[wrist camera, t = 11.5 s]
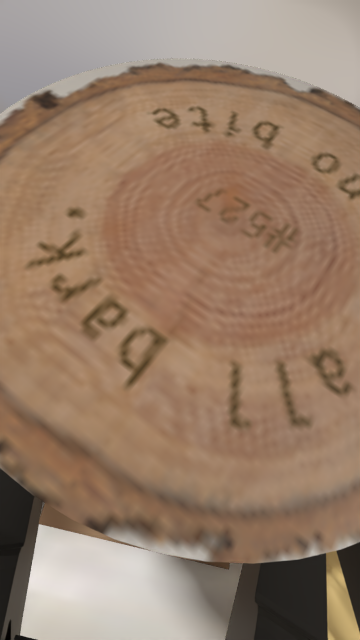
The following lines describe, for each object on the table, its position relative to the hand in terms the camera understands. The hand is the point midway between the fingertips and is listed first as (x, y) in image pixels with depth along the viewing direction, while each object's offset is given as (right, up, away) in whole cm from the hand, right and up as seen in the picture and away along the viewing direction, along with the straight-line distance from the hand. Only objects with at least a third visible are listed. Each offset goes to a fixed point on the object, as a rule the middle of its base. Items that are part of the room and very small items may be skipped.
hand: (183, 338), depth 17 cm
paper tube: (-2, -8, +9) cm, 12 cm away
